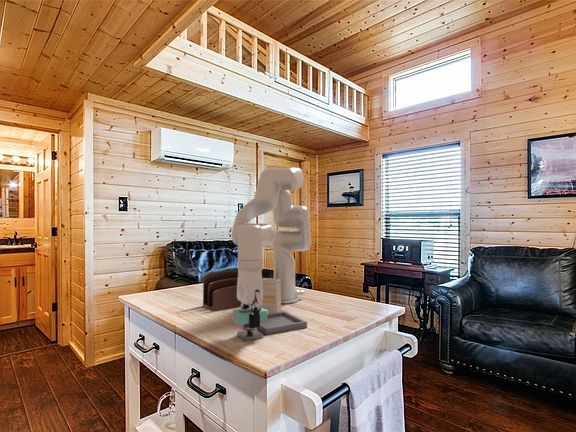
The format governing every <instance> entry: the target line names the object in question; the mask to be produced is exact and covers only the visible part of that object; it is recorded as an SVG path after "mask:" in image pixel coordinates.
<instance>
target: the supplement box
mask: <svg viewBox="0 0 576 432" xmlns="http://www.w3.org/2000/svg"><path fill="white" fill-rule="evenodd" d="M262 284H263V301H262V304H263V306H262V308H263V309H266V310H268V314H271V313H277V312H282V303H281V279H277V278H274V277H273V278H272V277H262Z"/></svg>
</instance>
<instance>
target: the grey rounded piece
mask: <svg viewBox="0 0 576 432" xmlns="http://www.w3.org/2000/svg"><path fill="white" fill-rule="evenodd" d="M247 312H250V309H247V310H243V313H247ZM241 329H242V330H241V331H237V332H236V336H237V337H238V338H240V339H241V340H242V341H243V342H249V341H254V340H259V339H264V333H263V332H261V331H260V330H258V327H256V328H250V327H249V324H245V325H241Z"/></svg>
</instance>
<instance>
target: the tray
mask: <svg viewBox="0 0 576 432" xmlns="http://www.w3.org/2000/svg"><path fill="white" fill-rule="evenodd" d="M304 328H308V321H306V320H305V319H302V318H300V317H297V316H296V315H294V314H291V313H289V312H288V311H281V312H277V313H271V314H268V315H267V321H262V322H260V327H258V329H257V331H259V332H260V333H262V334H263V335H266V336H267V335H272V334H278V333H283V332H290V331H294V330H295V331H296V330H300V329H304Z"/></svg>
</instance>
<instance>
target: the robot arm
mask: <svg viewBox="0 0 576 432" xmlns="http://www.w3.org/2000/svg"><path fill="white" fill-rule="evenodd" d="M304 179H305V178H304V172H303V171H302V169H301V168H300V167H271V168H265V169H264V170H262V172H261V173H260V175H259V178H258V182H257V186H256V190H255V192H254V193H255V194H254V197H253V198H252V199H251V200H249V201H248V202H247V203H246V204H244V206H243V207H241V208H240V209H239V211H238V212H237V213H236V215H235V219H234V222H233V225H232V229H231V239H232V243H233V244H234V245H235V246H237V270H238V279H237V299H238V300H239V301H240V302H241V306H240V309H246V308H250V313H251V314H250V315H249V327H250V328H256V327H260V313H261V312H260V310H261V308H262V306H263V304H262V301H263V284H262V278H263V273H262V271H263V268H264V267H263V265H264V263H263V259H264V258H263V255H264V253H263V252H264V251H263V249H264V248H267V247H269V246H272V251H273V278H277V279H281V304H294V303H297V302H298V301H299V297H298V296H302V295H305V290H304V289H301V290H299V289H296V260H295V258H294V255H292V253H291V252H306V251H309V250H310V249H311V246H312V231H311V229H312V228H311V227H312V226H311V216H310V211H309V208H308V207H307V206H305V205H293V201H292V200H293V198H292V193H291V191H297V190H300V189H301V188H302V187H303V185H304ZM269 212H272V213H273V214H272V215H273V222H274V225H275V226H276V227H278V228H285V229H278V230H276V229H275V228H274V227H273V226H272V225H271V224H269V223H249V222H250V221H251V220H253V219H255V218H257V217H260V216H262V215H264V214H267V213H269ZM289 228H291V229H289ZM292 228H296V229H292ZM297 228H298V229H297ZM263 247H264V248H263ZM253 302H256V303H254V304H252V303H253ZM253 307H254V309H253Z"/></svg>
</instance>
